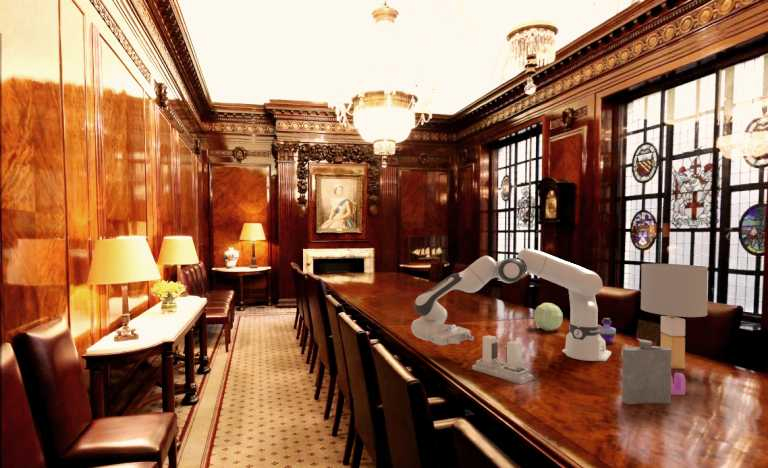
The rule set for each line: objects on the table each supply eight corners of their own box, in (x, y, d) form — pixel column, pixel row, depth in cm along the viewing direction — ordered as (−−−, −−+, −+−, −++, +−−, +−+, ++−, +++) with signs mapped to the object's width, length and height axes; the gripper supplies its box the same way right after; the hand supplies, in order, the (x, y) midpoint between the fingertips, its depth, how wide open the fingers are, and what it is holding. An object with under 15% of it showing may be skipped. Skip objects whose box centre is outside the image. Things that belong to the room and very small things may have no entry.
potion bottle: (619, 344, 209) (620, 320, 209) (602, 344, 209) (602, 320, 209) (610, 339, 217) (611, 316, 217) (593, 339, 217) (594, 316, 217)
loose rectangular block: (488, 364, 172) (488, 335, 172) (498, 367, 168) (498, 337, 168) (482, 366, 169) (482, 336, 169) (492, 369, 166) (492, 338, 165)
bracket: (685, 395, 145) (685, 374, 145) (668, 394, 145) (668, 374, 145) (662, 381, 158) (662, 362, 158) (646, 381, 158) (647, 362, 158)
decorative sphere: (529, 327, 245) (529, 301, 245) (553, 326, 247) (554, 301, 246) (541, 333, 230) (542, 306, 230) (567, 332, 232) (568, 305, 232)
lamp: (721, 375, 164) (722, 268, 164) (662, 374, 165) (663, 268, 164) (680, 357, 187) (681, 263, 187) (629, 357, 187) (629, 263, 187)
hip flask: (626, 404, 136) (626, 342, 136) (618, 399, 140) (619, 339, 140) (673, 403, 137) (673, 342, 137) (664, 398, 141) (664, 339, 141)
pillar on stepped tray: (484, 365, 176) (484, 332, 176) (533, 379, 159) (533, 343, 159) (471, 369, 170) (472, 336, 170) (521, 384, 154) (521, 347, 154)
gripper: (425, 330, 181) (450, 336, 170) (455, 323, 194) (480, 329, 184) (424, 345, 181) (450, 352, 170) (455, 337, 194) (480, 343, 184)
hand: (466, 340), depth 177 cm, fingers open, 8 cm apart
